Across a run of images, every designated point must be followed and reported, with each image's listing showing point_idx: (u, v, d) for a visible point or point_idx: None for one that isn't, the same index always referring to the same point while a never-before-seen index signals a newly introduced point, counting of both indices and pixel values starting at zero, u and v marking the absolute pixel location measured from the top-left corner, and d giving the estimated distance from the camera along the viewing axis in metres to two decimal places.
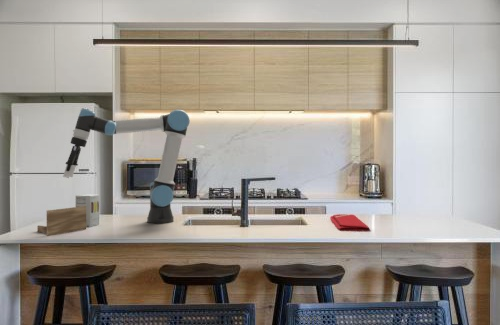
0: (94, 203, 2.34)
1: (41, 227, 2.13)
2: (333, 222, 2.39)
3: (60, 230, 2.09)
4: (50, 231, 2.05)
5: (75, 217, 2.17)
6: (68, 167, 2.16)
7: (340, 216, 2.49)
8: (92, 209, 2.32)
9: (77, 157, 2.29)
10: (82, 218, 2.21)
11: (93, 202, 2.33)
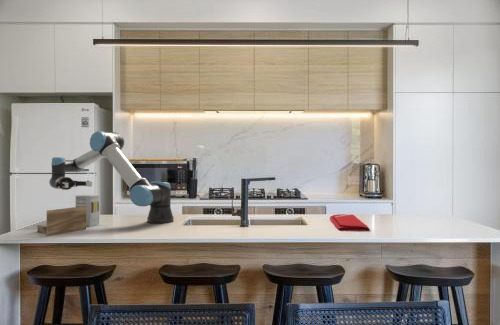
0: (95, 203, 2.34)
1: (41, 227, 2.13)
2: (333, 222, 2.39)
3: (60, 230, 2.09)
4: (50, 231, 2.05)
5: (75, 217, 2.17)
6: (61, 185, 2.40)
7: (340, 216, 2.49)
8: (92, 209, 2.32)
9: (78, 181, 2.53)
10: (82, 218, 2.21)
11: (93, 202, 2.33)
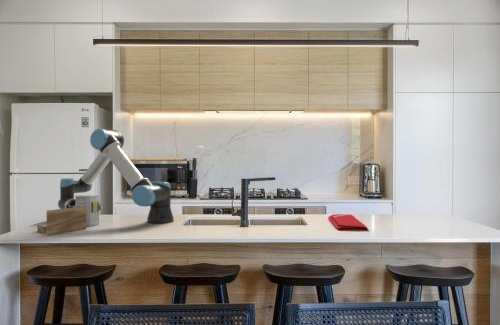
0: (94, 203, 2.34)
1: (41, 227, 2.13)
2: (331, 222, 2.39)
3: (60, 230, 2.09)
4: (50, 231, 2.05)
5: (75, 217, 2.17)
6: None
7: (338, 216, 2.49)
8: (92, 209, 2.32)
9: None
10: (82, 218, 2.21)
11: (93, 202, 2.33)
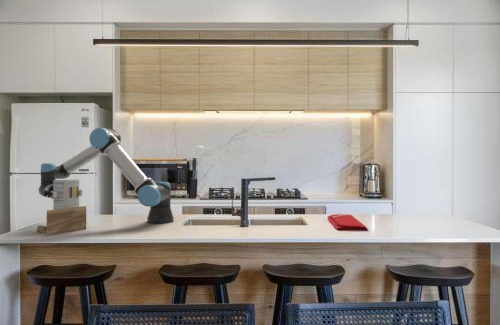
0: (73, 188, 2.24)
1: (41, 227, 2.13)
2: (330, 222, 2.39)
3: (60, 230, 2.09)
4: (50, 231, 2.05)
5: (75, 217, 2.17)
6: (49, 194, 2.21)
7: (337, 216, 2.49)
8: (70, 194, 2.21)
9: None
10: (82, 218, 2.21)
11: (71, 187, 2.22)
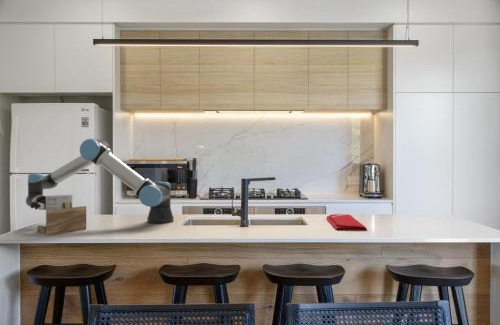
0: (66, 204, 2.19)
1: (41, 227, 2.13)
2: (330, 222, 2.40)
3: (60, 230, 2.09)
4: (50, 231, 2.05)
5: (75, 217, 2.17)
6: (36, 205, 2.18)
7: (336, 216, 2.49)
8: None
9: None
10: (82, 218, 2.21)
11: (65, 202, 2.17)
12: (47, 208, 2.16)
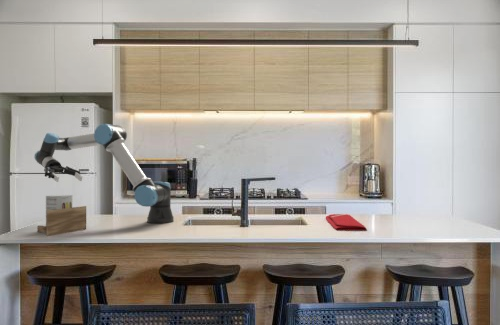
0: (67, 204, 2.19)
1: (41, 227, 2.13)
2: (329, 222, 2.40)
3: (60, 230, 2.09)
4: (50, 231, 2.05)
5: (75, 217, 2.17)
6: (50, 175, 2.32)
7: (336, 216, 2.50)
8: None
9: (67, 169, 2.45)
10: (82, 218, 2.21)
11: (65, 202, 2.17)
12: (47, 208, 2.16)
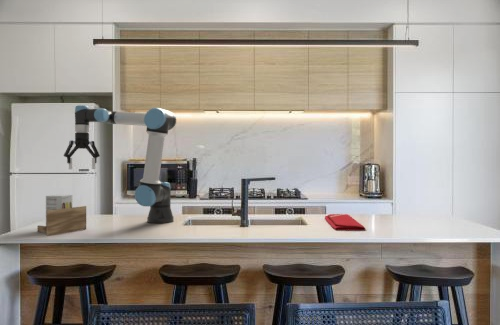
0: (66, 204, 2.19)
1: (41, 227, 2.13)
2: (328, 222, 2.40)
3: (60, 230, 2.09)
4: (50, 231, 2.05)
5: (75, 217, 2.17)
6: (67, 160, 2.42)
7: (335, 216, 2.50)
8: None
9: (90, 150, 2.50)
10: (82, 218, 2.21)
11: (65, 202, 2.17)
12: (47, 208, 2.16)
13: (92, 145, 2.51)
